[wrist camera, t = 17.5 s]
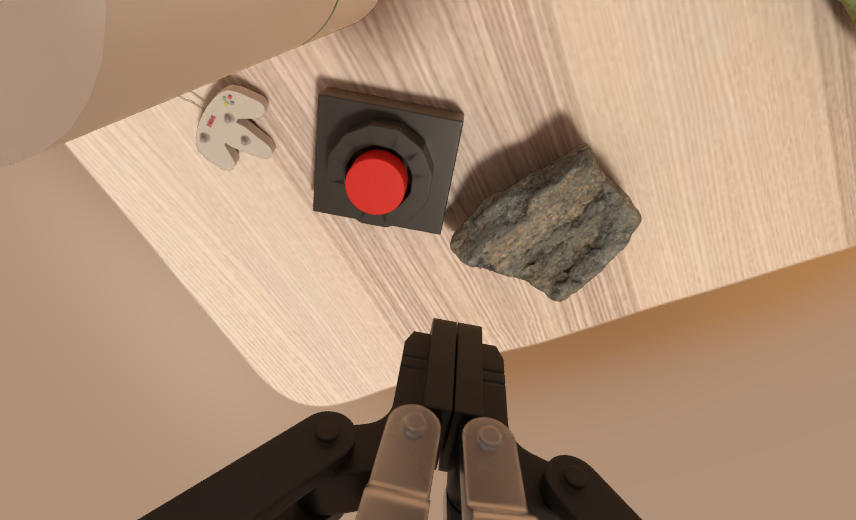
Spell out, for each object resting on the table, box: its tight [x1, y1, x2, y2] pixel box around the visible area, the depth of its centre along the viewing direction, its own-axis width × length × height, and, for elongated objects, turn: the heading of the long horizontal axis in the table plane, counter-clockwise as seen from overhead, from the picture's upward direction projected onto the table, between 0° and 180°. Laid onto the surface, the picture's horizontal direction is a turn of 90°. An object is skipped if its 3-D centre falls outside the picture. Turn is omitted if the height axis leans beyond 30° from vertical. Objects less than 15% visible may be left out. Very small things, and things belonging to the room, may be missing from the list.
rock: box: [450, 144, 641, 301], centre depth 33 cm, size 12×10×5 cm
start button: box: [345, 149, 408, 215], centre depth 30 cm, size 4×4×2 cm
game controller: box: [178, 84, 275, 171], centre depth 32 cm, size 6×12×3 cm, turn 72°
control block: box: [313, 87, 464, 234], centre depth 32 cm, size 9×8×4 cm
